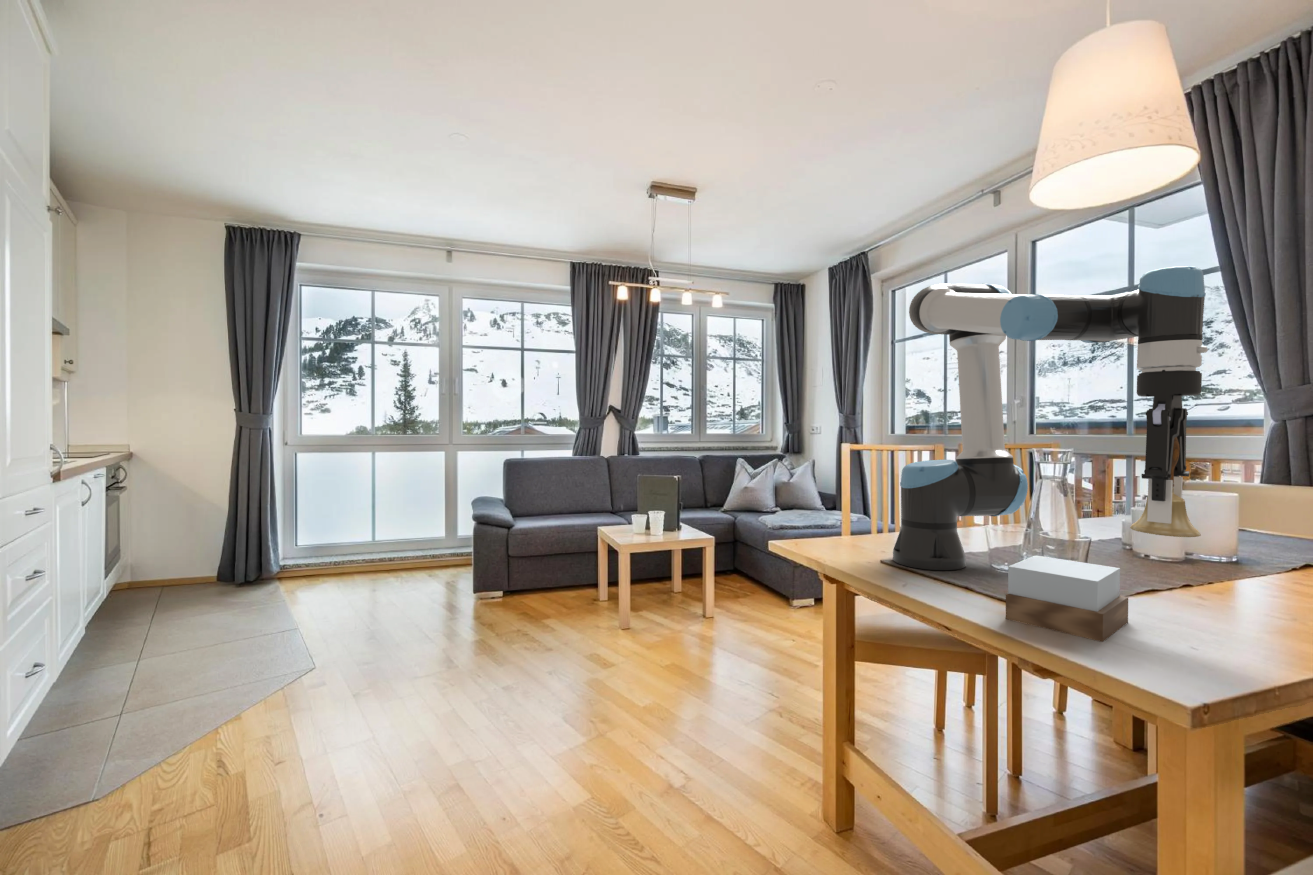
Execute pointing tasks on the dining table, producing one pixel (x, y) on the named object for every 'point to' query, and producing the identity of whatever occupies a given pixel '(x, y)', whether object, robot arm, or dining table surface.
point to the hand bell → (1179, 515)
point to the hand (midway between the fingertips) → (1164, 519)
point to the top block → (1064, 582)
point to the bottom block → (1069, 616)
